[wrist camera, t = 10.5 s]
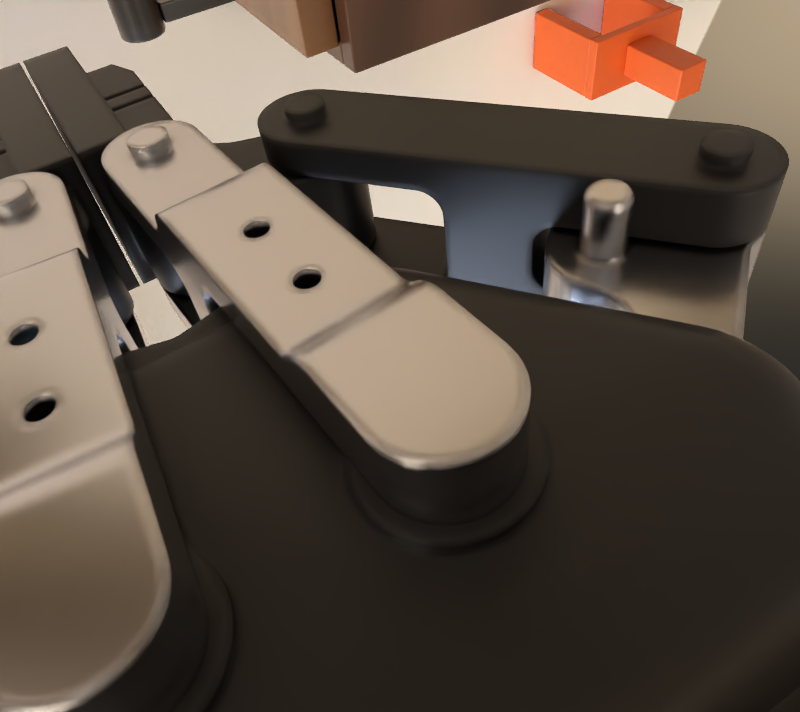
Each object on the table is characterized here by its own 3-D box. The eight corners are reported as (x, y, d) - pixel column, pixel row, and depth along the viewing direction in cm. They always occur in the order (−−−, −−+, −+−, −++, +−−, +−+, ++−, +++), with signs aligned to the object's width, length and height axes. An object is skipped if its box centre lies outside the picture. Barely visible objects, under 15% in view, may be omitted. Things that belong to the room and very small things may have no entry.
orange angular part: (532, 68, 39) (642, 130, 34) (535, 12, 37) (652, 69, 32) (610, 36, 41) (726, 91, 36) (617, -19, 39) (741, 31, 34)
